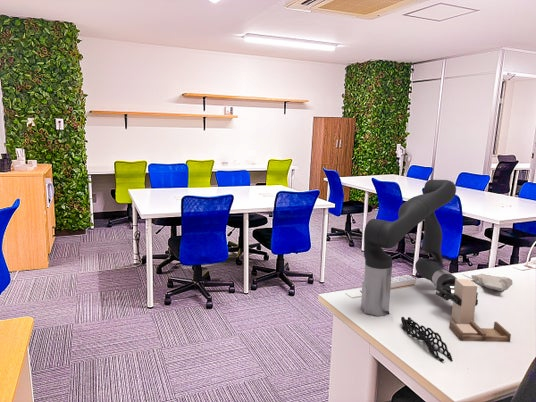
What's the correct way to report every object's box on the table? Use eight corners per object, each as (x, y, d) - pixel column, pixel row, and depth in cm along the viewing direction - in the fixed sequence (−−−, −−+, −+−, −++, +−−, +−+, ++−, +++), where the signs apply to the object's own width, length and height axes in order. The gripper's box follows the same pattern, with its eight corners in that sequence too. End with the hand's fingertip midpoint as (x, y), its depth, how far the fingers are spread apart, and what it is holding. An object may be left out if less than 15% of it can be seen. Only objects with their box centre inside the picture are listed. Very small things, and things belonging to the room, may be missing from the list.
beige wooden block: (459, 329, 131) (463, 285, 129) (451, 320, 137) (455, 278, 135) (472, 329, 131) (477, 286, 129) (464, 320, 137) (468, 279, 134)
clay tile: (462, 338, 123) (463, 332, 123) (454, 329, 129) (455, 323, 129) (477, 338, 123) (477, 332, 123) (468, 329, 129) (469, 324, 128)
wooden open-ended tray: (459, 344, 122) (461, 333, 121) (448, 331, 130) (449, 320, 129) (509, 345, 122) (510, 334, 121) (495, 331, 130) (496, 321, 129)
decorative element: (455, 365, 111) (457, 346, 110) (439, 368, 110) (441, 348, 109) (408, 327, 133) (410, 310, 132) (395, 328, 132) (396, 312, 131)
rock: (461, 288, 166) (500, 296, 155) (461, 277, 166) (501, 284, 155) (480, 279, 181) (518, 286, 170) (481, 269, 180) (518, 275, 169)
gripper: (427, 272, 146) (447, 291, 129) (466, 273, 146) (491, 292, 129) (425, 292, 148) (445, 313, 131) (464, 292, 147) (489, 314, 130)
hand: (468, 302), depth 130 cm, fingers closed on beige wooden block, 4 cm apart
